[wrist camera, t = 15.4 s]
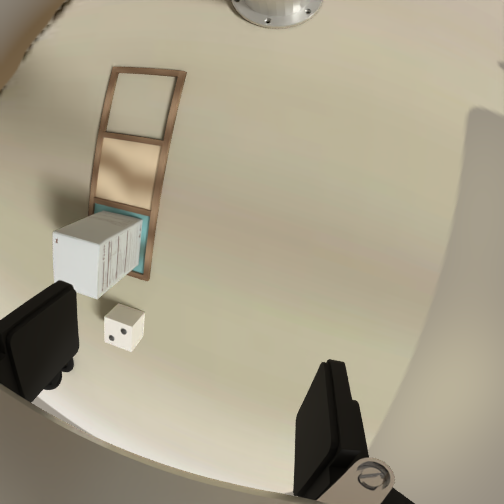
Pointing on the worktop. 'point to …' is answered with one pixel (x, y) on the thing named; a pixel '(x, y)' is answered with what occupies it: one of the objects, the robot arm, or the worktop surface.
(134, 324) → the die
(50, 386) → the webcam
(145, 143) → the board
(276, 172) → the worktop surface
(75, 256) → the supplement box
